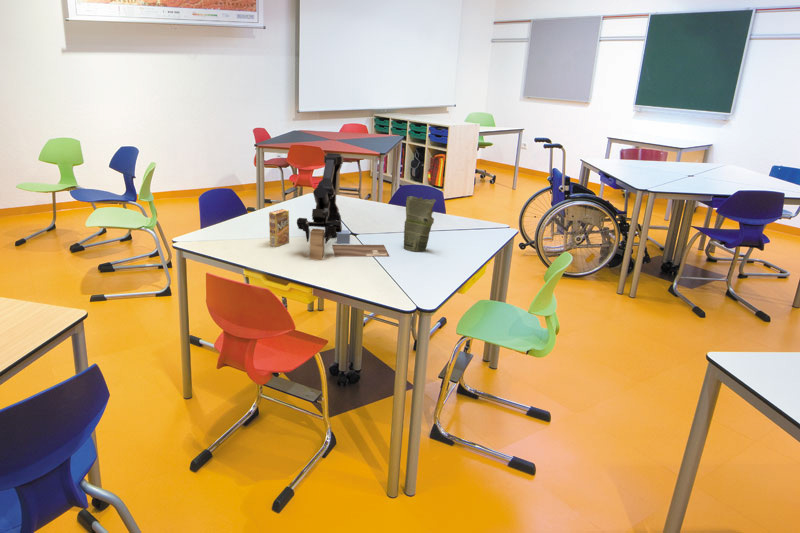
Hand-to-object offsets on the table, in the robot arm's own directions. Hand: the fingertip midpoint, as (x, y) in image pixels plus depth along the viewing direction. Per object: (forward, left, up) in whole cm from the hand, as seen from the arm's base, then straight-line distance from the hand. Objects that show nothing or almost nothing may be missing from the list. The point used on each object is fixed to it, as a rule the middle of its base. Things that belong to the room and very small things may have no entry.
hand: (316, 242), depth 236 cm
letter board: (-9, +20, -7) cm, 23 cm away
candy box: (-20, -16, -7) cm, 27 cm away
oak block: (-1, 0, -7) cm, 7 cm away
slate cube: (-22, +13, -7) cm, 27 cm away
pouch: (-12, +46, -7) cm, 49 cm away
